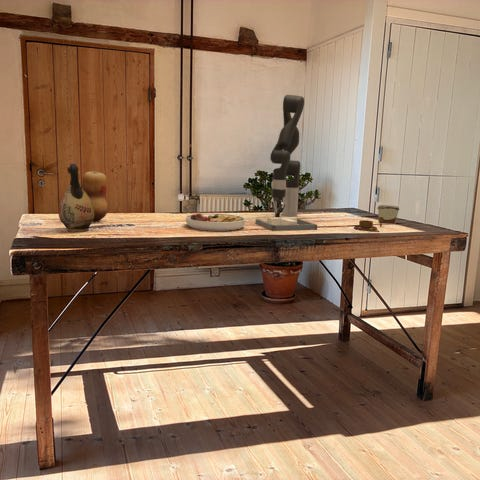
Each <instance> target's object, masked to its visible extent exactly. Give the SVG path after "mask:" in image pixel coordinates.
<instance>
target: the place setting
mask: <svg viewBox="0 0 480 480" xmlns="http://www.w3.org/2000/svg"><path fill="white" fill-rule="evenodd" d="M383 221H384V217H379V219H378V223H379V222H381V223H379V228H382V226H383V223H382V222H383ZM358 224H359V225H358ZM358 224H357V225H354V226H353V229H355V230H357V231H363V232H370V233H371V232H372V233H379V232H380V230H378V227H376V226H374V221H372V220H367V219H366V220H364V219H362V220H361V219H360V220H359V223H358Z"/></svg>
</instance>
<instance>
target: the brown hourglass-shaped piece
mask: <svg viewBox="0 0 480 480" xmlns="http://www.w3.org/2000/svg"><path fill="white" fill-rule="evenodd" d="M107 182H108V181H107V176H106V175H105V174H104V173H103V172H99V171H86V172H85V173H84V174H83V176H82V180H81V187H82V188H83V189H84V191H85V192H86V193H87V195H88V196H89V198H90V200H91V201H92V204H93V207H94V212H95V216H94V220H93V222H100V221H101V220H103V219H104V217H106V216H107V213H108V203H107V200H106V194H107V189H108V188H107Z"/></svg>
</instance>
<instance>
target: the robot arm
mask: <svg viewBox="0 0 480 480" xmlns="http://www.w3.org/2000/svg"><path fill="white" fill-rule="evenodd" d="M304 107H305V98H304V97H303V96H302V95H296V94H295V95H293V94H285V95H284V97H283V100H282V112H283V113H282V114H283V127H282V128H281V130H280V132H279V135H278V139H277V142H276V144H275V146H274V147H273V149H272V150H271V153H270V162H271V163H272V164H277V165H278V164H280V165H281V166H279V167H276V168H274V169H272V170H273V171H272V182H271V183H272V184H271V197H272V198H273V200H272V201H271V202H270V203H271V207H272V211H273V212H274V217H281V215H282V216H284V217H297V216H298V205H299V191H300V189H299V188H300V187H299V186H300V173H301V161H299V160H291V155H292V154H293V152H294V151H295V150H296V149H297V147H298V146H299V143H300V130H299V128H298V123H299V121H300V119H301V117H302V116H301V115H302V114H303V111H304ZM291 114H293V116H292V115H291ZM287 176H289V177H293V178H292V179H290V180H287Z"/></svg>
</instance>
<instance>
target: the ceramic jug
mask: <svg viewBox="0 0 480 480" xmlns="http://www.w3.org/2000/svg"><path fill="white" fill-rule="evenodd" d="M67 173H68V174H69V175H70V184H69V185H68V186H67V189H66V190H65V191H64V194H63V195H62V197H61V199H60V201H59V205H58V211H57V212H58V213H57V215H58V217H59V221H60V223H62V224H63V225H64V227H65V228H66V229H67V231H68V232H75V233H76V232H77V233H78V232H84V231H90V226H91V225H92V224H93V222H94V221H93V220H94V216H95V212H94V207H93V204H92V201H91V200H90V198H89V196H88V195H87V193H86V192H85V191H84V189H83V188H82V185H80V182H79V167H78V166H77V164H76V163H71V164H69V166H68V167H67Z"/></svg>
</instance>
